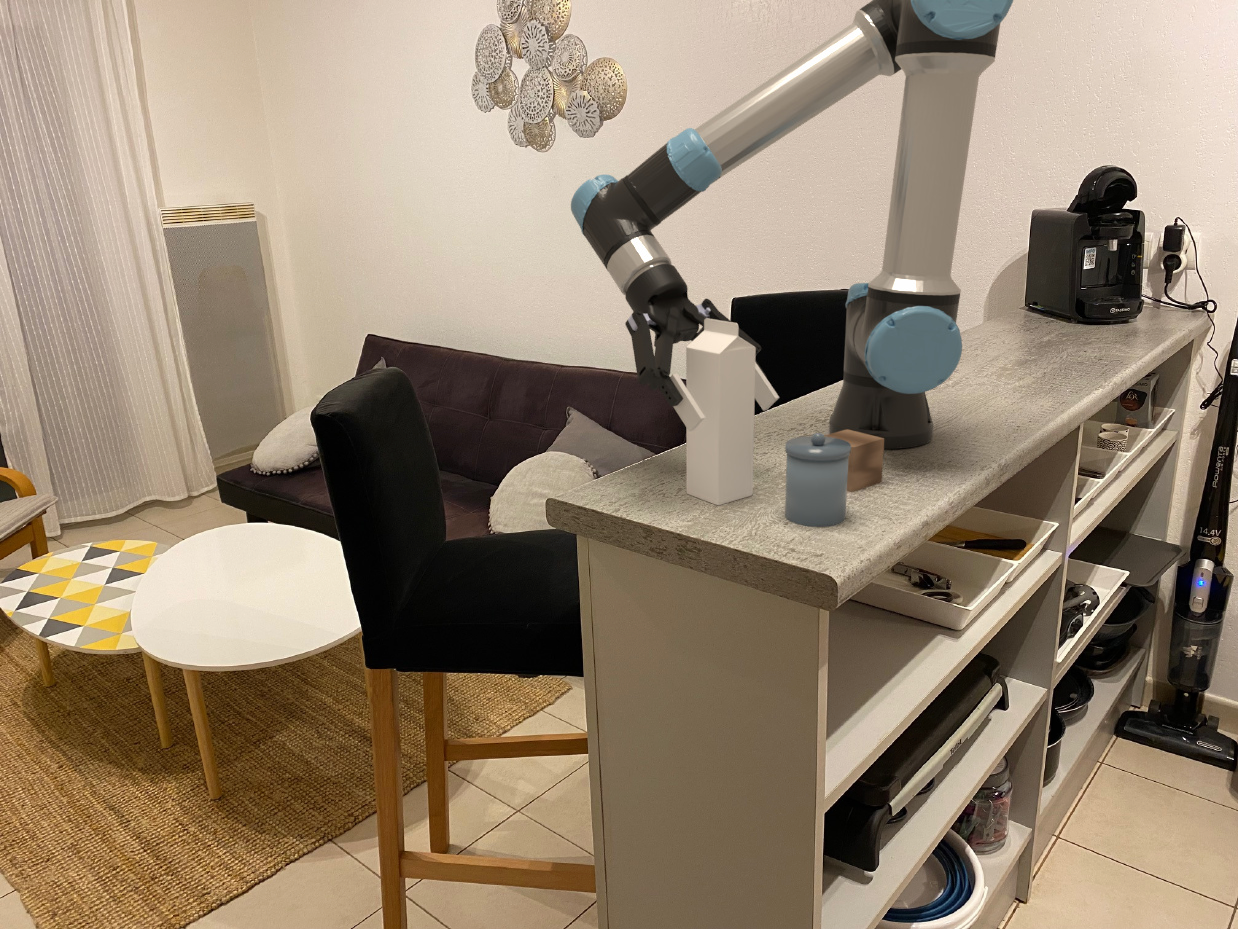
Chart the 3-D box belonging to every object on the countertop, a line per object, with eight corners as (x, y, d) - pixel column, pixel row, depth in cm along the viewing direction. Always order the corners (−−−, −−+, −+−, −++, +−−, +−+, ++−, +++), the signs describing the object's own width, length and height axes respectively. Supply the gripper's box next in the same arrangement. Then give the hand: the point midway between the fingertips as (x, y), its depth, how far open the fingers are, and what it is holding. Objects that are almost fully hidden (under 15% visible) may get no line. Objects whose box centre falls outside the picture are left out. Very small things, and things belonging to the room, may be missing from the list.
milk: (718, 506, 116) (719, 326, 110) (685, 494, 121) (684, 320, 114) (753, 495, 120) (757, 320, 113) (721, 483, 124) (722, 315, 118)
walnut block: (845, 472, 128) (847, 429, 126) (881, 482, 124) (884, 438, 122) (815, 481, 125) (816, 437, 123) (851, 492, 120) (853, 447, 118)
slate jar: (823, 502, 117) (827, 421, 114) (860, 521, 110) (864, 436, 107) (771, 511, 114) (773, 429, 111) (805, 531, 108) (808, 445, 105)
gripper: (700, 290, 133) (782, 412, 127) (560, 310, 117) (646, 451, 111) (729, 253, 128) (816, 379, 121) (587, 269, 112) (679, 415, 105)
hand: (735, 414), depth 116 cm, fingers open, 13 cm apart
